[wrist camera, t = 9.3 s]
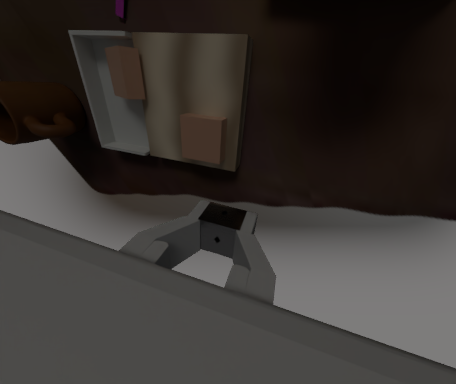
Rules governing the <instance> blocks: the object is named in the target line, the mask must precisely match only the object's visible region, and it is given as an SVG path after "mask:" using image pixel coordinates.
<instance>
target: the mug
mask: <svg viewBox="0 0 456 384" xmlns="http://www.w3.org/2000/svg"><path fill="white" fill-rule="evenodd" d="M84 125H85V112H84V109H83V107H82V105H81V103H80V101H79V99H78V98H77V97H76V95H75V94H74V93H73V92H72V91H71V90H70V89H69V88H67V87H66V86H64V85H62V84H59V83H52V82H15V81H0V140H1V141H3V142H5V143H7V144H12V145H15V144H21V143H29V142H34V141H39V140H44V139H49V138H63V137H67V136H70V135H72V134H73V133H76V132H78V131H80V130H82V129H83V127H84Z"/></svg>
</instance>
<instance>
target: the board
mask: <svg viewBox="0 0 456 384" xmlns="http://www.w3.org/2000/svg"><path fill="white" fill-rule="evenodd" d="M132 38H133V44H134V48H138V53H139V59H140V66H141V73H142V80H143V87H144V93H145V99H142V103H143V110H144V116H145V123H146V129H147V136H148V142H149V149H150V155H152V156H157V157H162V158H167V159H172V160H177V161H182V162H188V163H193V164H198V165H203V166H208V167H213V168H219V169H224V170H229V171H234V172H235V171H236V169H237V168H238V167H239V165H240V157H241V148H242V139H243V129H244V120H245V111H246V101H247V92H248V83H249V73H250V64H251V55H252V45H253V39H252V38H251V37H250V36H249V35H247V34H194V33H142V32H132ZM187 113H192V114H200V115H208V116H216V117H223V118H227V132H226V148H225V159H224V160H223V161H222V162H221V163H220V164H215V163H210V162H205V161H199V160H194V159H189V158H183V157H182V142H181V126H180V115H182V114H187Z"/></svg>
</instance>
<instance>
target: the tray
mask: <svg viewBox="0 0 456 384" xmlns="http://www.w3.org/2000/svg"><path fill="white" fill-rule="evenodd" d="M68 31H69V35H70V38H71V42H72V45H73V49H74V52H75V56H76V59H77V63H78V66H79V70H80V73H81V77H82V80H83V84H84V87H85V91H86V94H87V98H88V101H89V105H90V108H91V112H92V115H93V119H94V122H95V126H96V129H97V133H98V136H99V140H100V143H101V147H103V148H108V149H113V150H118V151H124V152H129V153H134V154H139V155H144V156H146V155H148V154H150V149H149V142H148V136H147V129H146V123H145V116H144V110H143V103H142V99H125V98H122V97H119V96H115V94H114V90H113V85H112V81H111V76H110V71H109V67H108V62H107V58H106V53H105V49H104V48H108V47H113V46H117V45H119V46H125V47H131V48H134V44H133V38H132V33H129V32H126V31H89V30H68Z"/></svg>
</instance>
